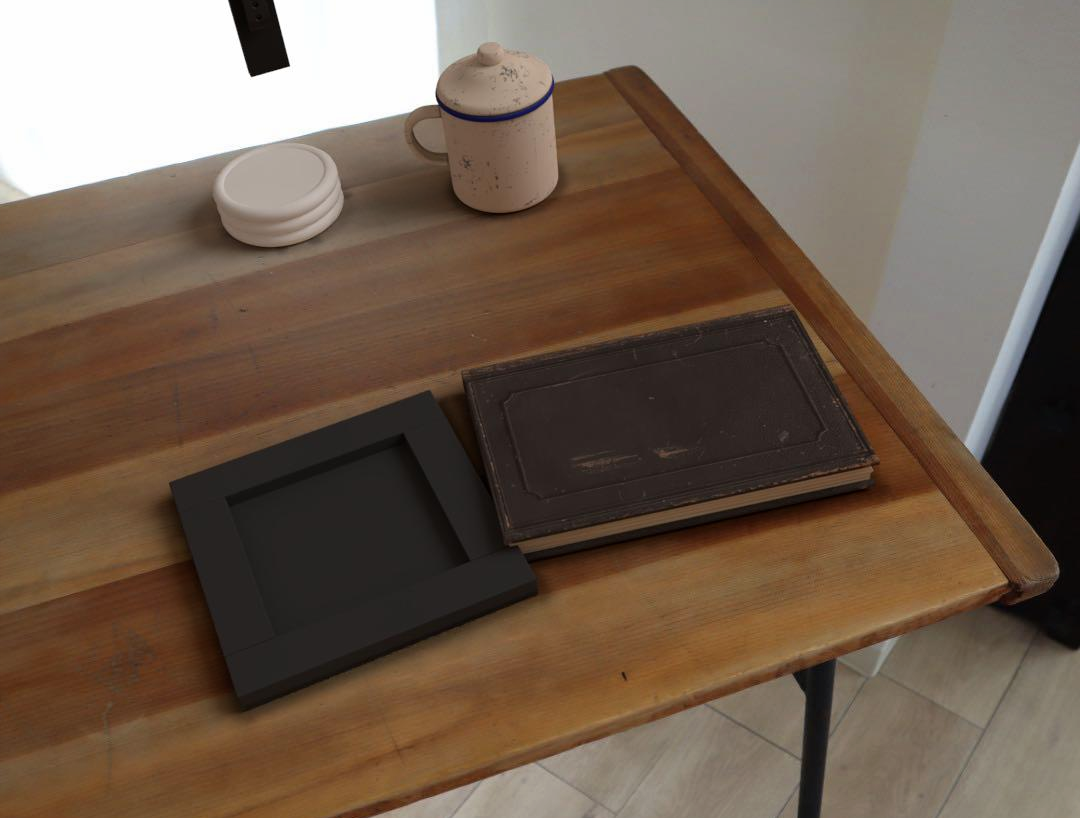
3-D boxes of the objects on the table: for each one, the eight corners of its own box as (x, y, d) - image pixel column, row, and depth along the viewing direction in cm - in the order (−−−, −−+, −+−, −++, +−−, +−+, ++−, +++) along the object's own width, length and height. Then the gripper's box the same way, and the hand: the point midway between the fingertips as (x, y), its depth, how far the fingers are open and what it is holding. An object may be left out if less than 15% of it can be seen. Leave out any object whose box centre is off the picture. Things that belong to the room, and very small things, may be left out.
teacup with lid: (559, 147, 99) (548, 11, 90) (564, 211, 93) (553, 73, 84) (417, 160, 99) (392, 26, 90) (413, 225, 93) (387, 88, 84)
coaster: (370, 205, 96) (361, 167, 93) (274, 266, 91) (262, 228, 89) (293, 163, 100) (283, 126, 98) (199, 219, 96) (185, 182, 93)
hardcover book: (874, 486, 72) (880, 461, 70) (508, 566, 70) (504, 541, 69) (786, 324, 82) (788, 298, 81) (464, 390, 81) (459, 365, 79)
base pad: (175, 497, 77) (168, 481, 75) (433, 405, 80) (430, 388, 79) (244, 712, 66) (236, 697, 64) (539, 594, 69) (537, 578, 68)
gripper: (262, -298, 59) (348, 93, 76) (164, -400, 74) (252, -56, 91) (115, -266, 58) (234, 125, 74) (45, -377, 73) (157, -32, 89)
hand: (244, 26), depth 82 cm, fingers open, 13 cm apart
